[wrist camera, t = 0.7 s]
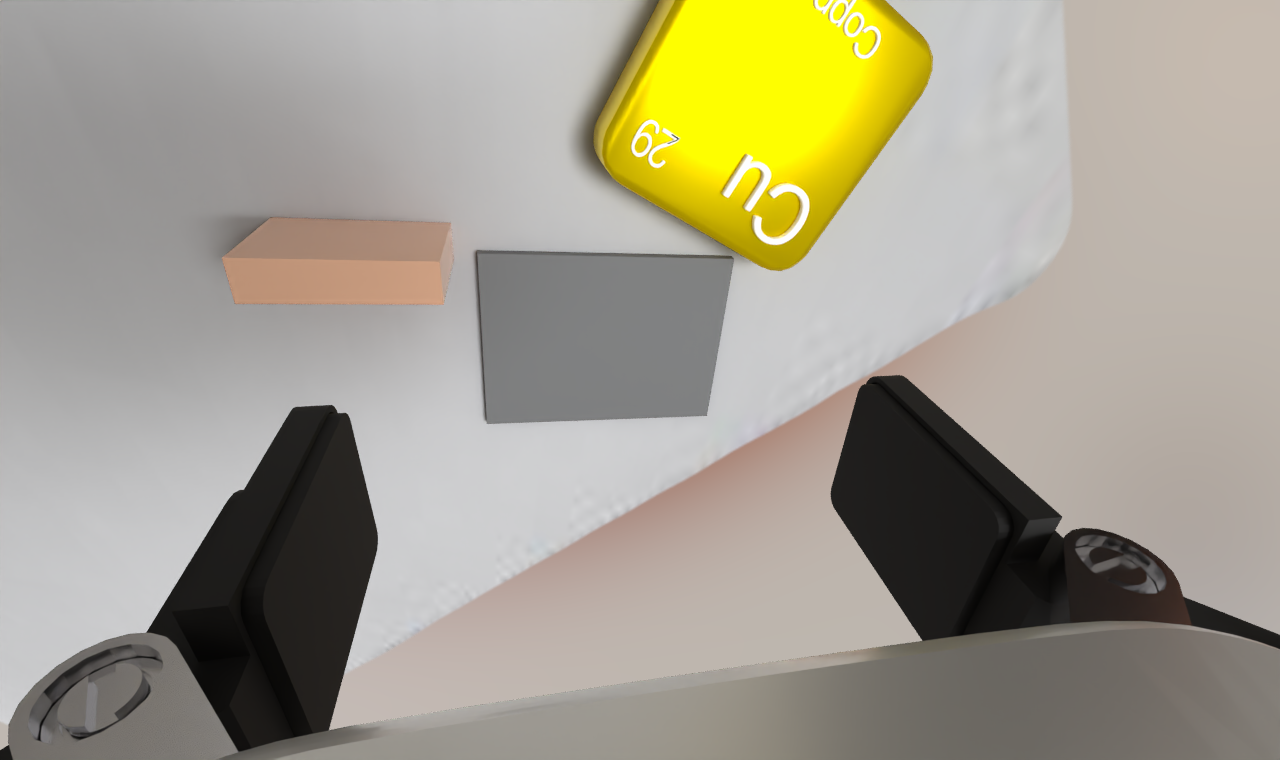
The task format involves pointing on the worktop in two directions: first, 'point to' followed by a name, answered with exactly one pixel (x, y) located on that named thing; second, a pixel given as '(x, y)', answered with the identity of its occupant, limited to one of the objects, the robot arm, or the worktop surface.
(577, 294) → the mat
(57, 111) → the worktop surface
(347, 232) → the block
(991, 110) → the worktop surface
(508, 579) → the worktop surface
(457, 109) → the worktop surface
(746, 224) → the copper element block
